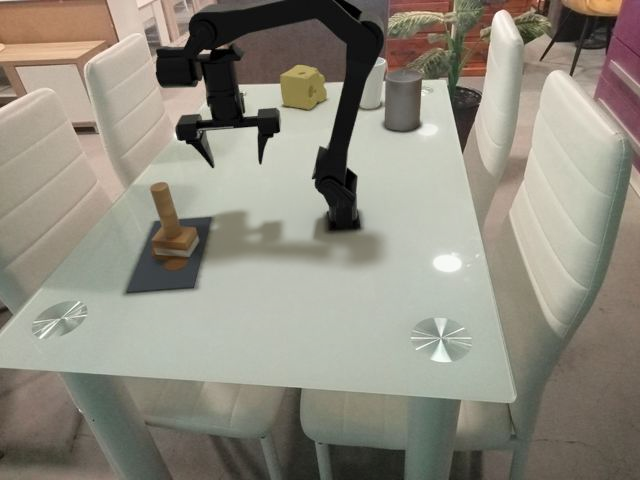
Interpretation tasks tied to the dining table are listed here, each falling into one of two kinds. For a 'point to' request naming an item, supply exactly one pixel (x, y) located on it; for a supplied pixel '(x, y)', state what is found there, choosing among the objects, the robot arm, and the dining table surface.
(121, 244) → the dining table surface
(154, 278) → the stain mat
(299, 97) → the cheese
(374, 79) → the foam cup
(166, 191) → the scrub brush
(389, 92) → the pillar candle
